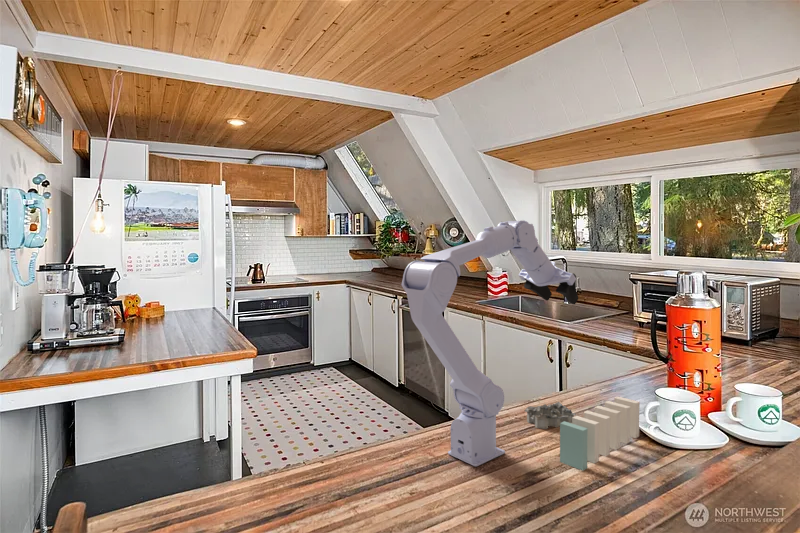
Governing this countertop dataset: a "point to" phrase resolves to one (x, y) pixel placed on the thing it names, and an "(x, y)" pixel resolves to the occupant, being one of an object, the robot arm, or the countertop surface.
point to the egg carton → (549, 415)
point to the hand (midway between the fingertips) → (561, 299)
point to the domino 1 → (573, 445)
